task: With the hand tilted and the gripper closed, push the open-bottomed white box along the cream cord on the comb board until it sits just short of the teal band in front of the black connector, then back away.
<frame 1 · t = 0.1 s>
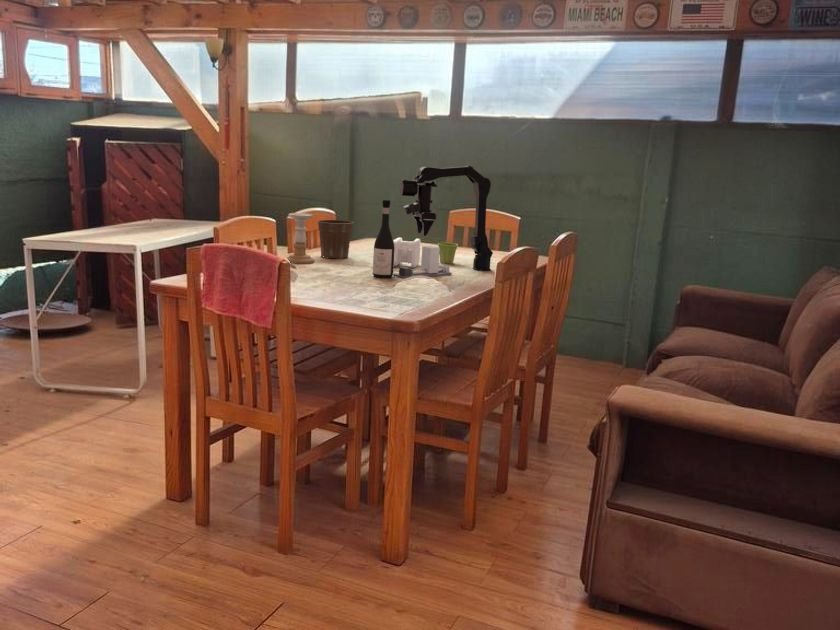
hand: (422, 234, 306), 15 cm above the table, tool pointing down, fingers open, 9 cm apart
plant pot: (334, 257, 327), on the table
cord comb board: (423, 275, 293), on the table
open-bottomed white box: (430, 259, 294), point 6 cm above the table, slide at 0.0 cm
candle holder: (299, 262, 308), on the table
wine bottle: (382, 277, 284), on the table
plant pot 2: (446, 263, 330), on the table
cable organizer: (405, 266, 315), on the table
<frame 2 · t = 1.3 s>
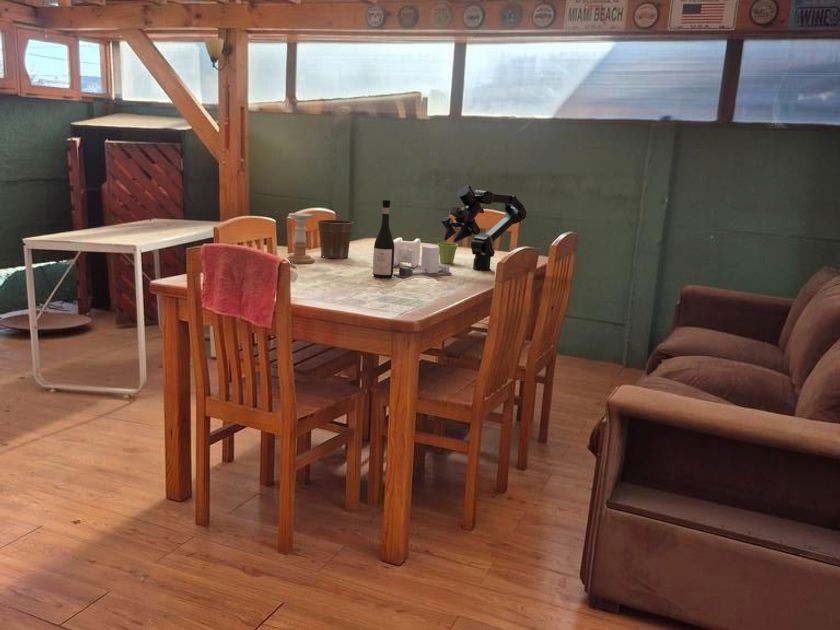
hand: (449, 240, 299), 14 cm above the table, tool tilted 45°, fingers open, 5 cm apart
nothing on the table moved.
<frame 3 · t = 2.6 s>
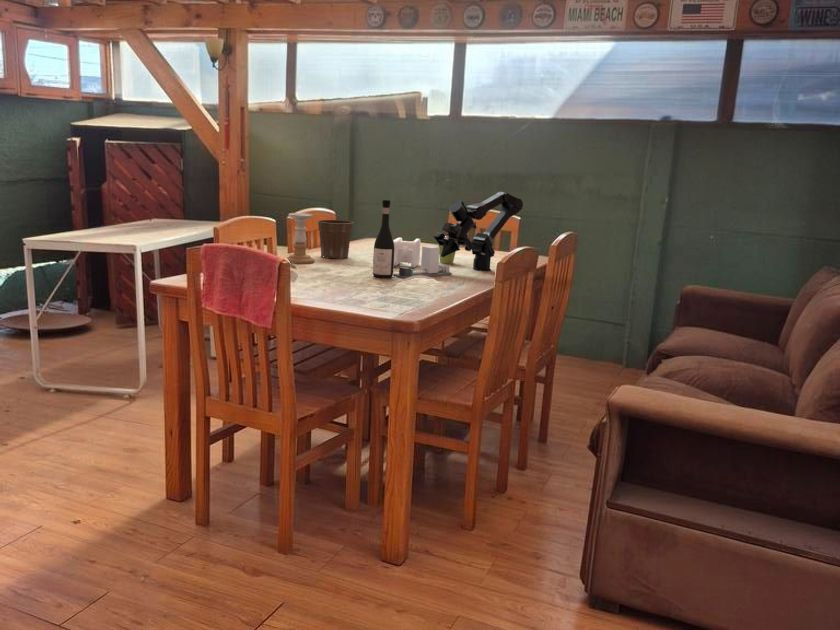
hand: (441, 256, 298), 7 cm above the table, tool tilted 45°, fingers closed
nothing on the table moved.
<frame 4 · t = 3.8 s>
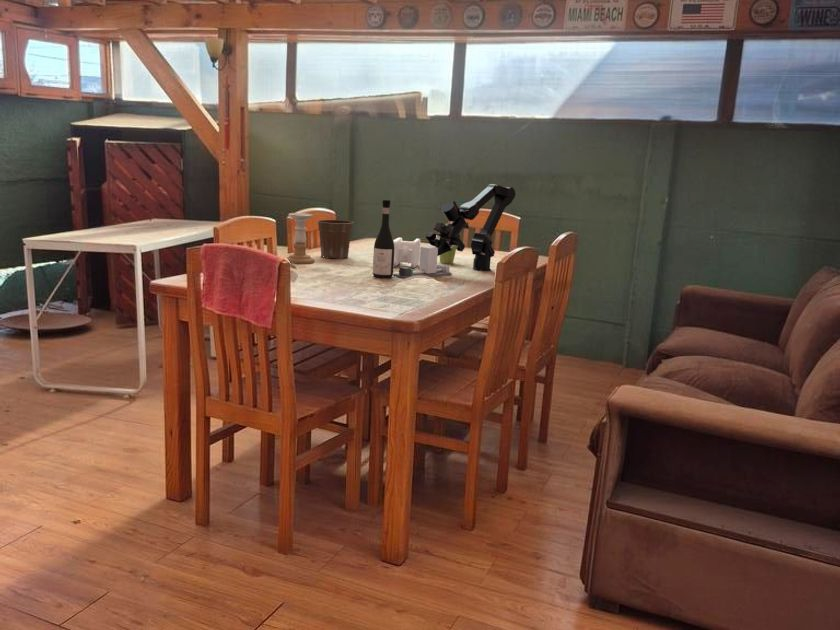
hand: (433, 256, 295), 7 cm above the table, tool tilted 45°, fingers closed, pressing on open-bottomed white box
open-bottomed white box: (428, 259, 293), point 6 cm above the table, slide at 1.0 cm, touching gripper
everything else where it was.
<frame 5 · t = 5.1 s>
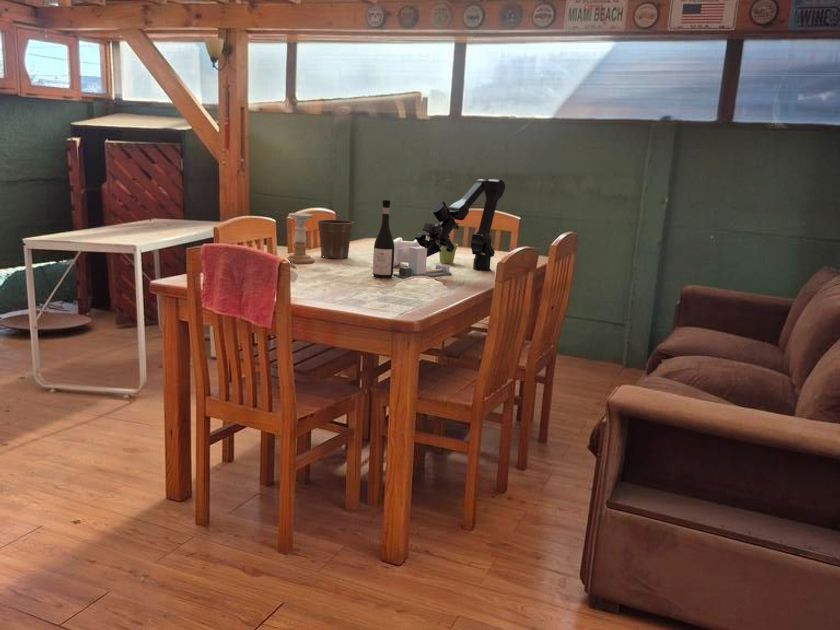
hand: (422, 257, 291), 7 cm above the table, tool tilted 45°, fingers closed, pressing on open-bottomed white box
open-bottomed white box: (417, 260, 289), point 6 cm above the table, slide at 7.1 cm, touching gripper
everything else where it was.
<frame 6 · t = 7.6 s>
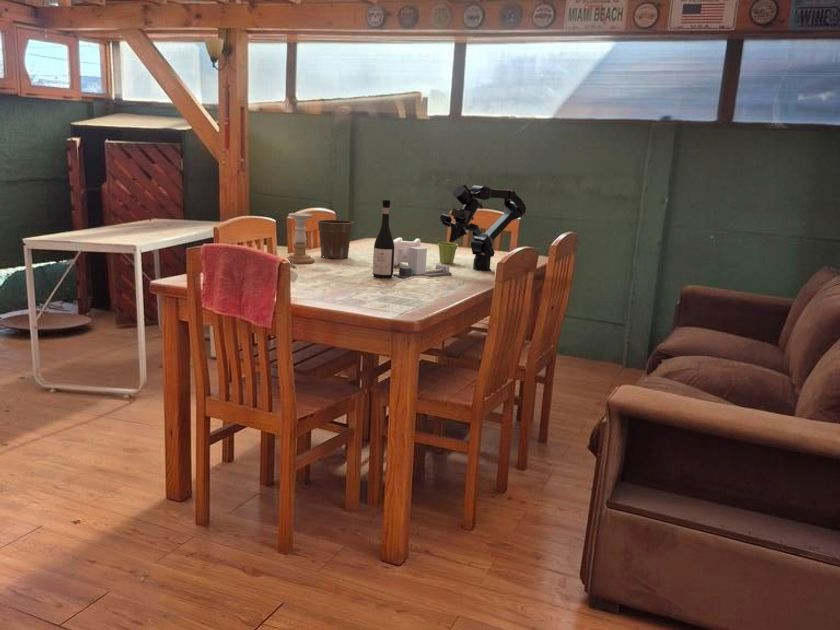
hand: (450, 242, 301), 13 cm above the table, tool tilted 35°, fingers closed
open-bottomed white box: (417, 260, 289), point 6 cm above the table, slide at 7.2 cm
everything else where it was.
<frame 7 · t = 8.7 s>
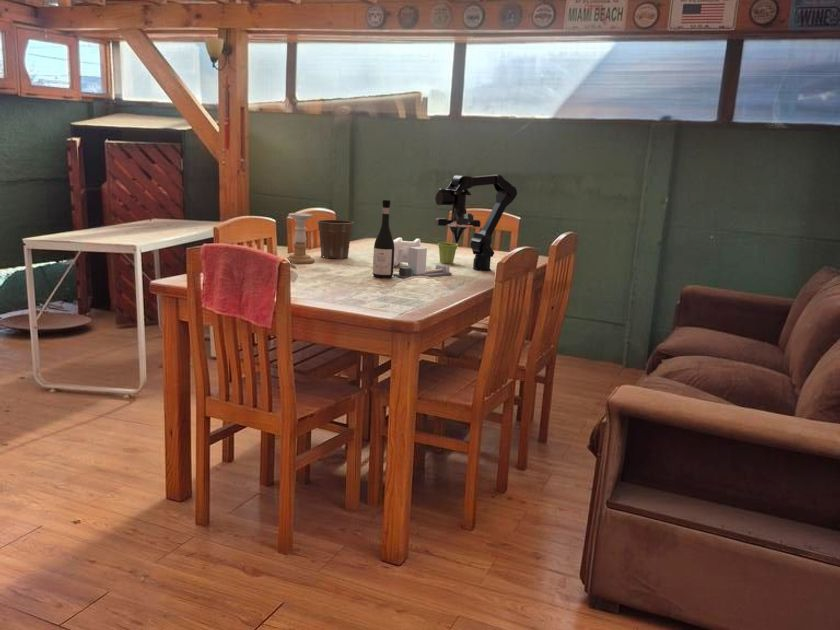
hand: (456, 242, 307), 12 cm above the table, tool pointing down, fingers closed
nothing on the table moved.
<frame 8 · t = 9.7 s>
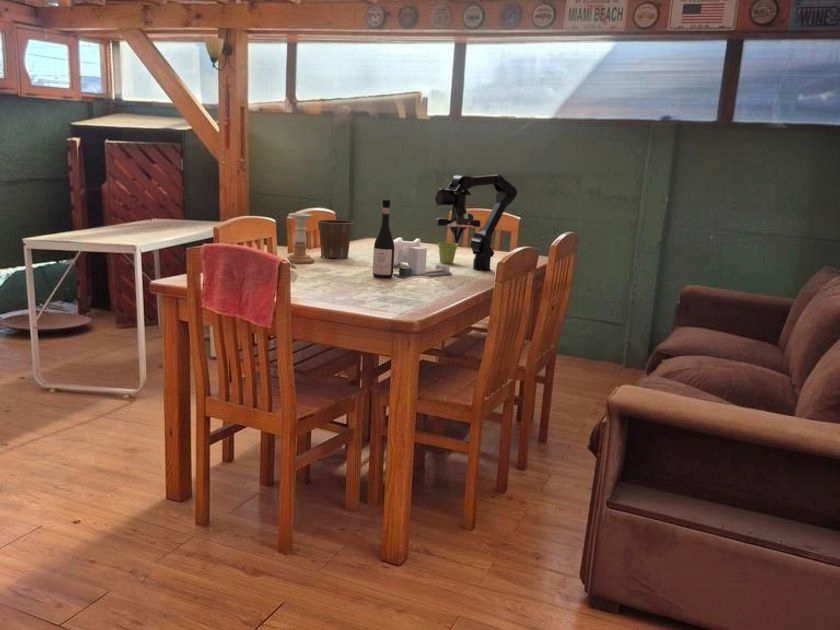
hand: (456, 242, 307), 12 cm above the table, tool pointing down, fingers closed
nothing on the table moved.
at the end: open-bottomed white box slide at 7.2 cm; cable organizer moved 0.3 cm from its start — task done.
